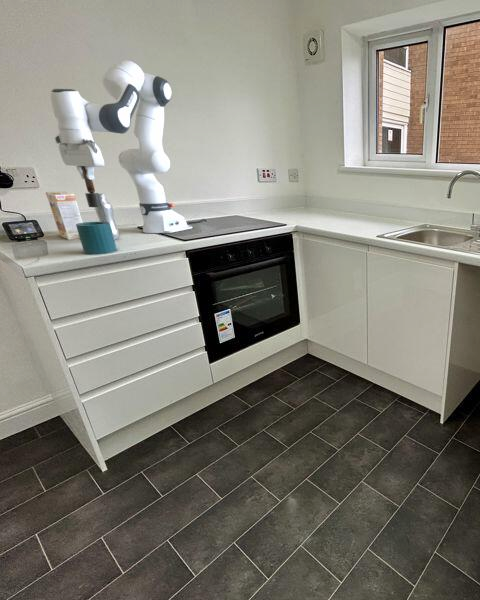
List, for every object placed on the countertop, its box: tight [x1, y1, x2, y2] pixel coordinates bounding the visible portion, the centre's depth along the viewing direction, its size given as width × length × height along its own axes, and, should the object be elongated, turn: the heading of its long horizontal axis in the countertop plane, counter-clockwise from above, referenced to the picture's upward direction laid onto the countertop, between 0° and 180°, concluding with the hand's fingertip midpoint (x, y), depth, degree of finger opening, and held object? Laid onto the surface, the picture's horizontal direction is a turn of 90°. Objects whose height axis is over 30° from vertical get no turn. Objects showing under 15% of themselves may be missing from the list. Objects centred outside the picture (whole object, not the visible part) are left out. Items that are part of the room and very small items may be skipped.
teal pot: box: [76, 221, 118, 255], centre depth 137 cm, size 10×10×11 cm
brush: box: [81, 166, 102, 208], centre depth 133 cm, size 4×4×16 cm
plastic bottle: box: [93, 193, 121, 241], centre depth 155 cm, size 6×7×20 cm
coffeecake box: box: [45, 191, 84, 241], centre depth 159 cm, size 15×7×20 cm, turn 53°
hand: (88, 179), depth 132 cm, fingers closed on brush, 2 cm apart
